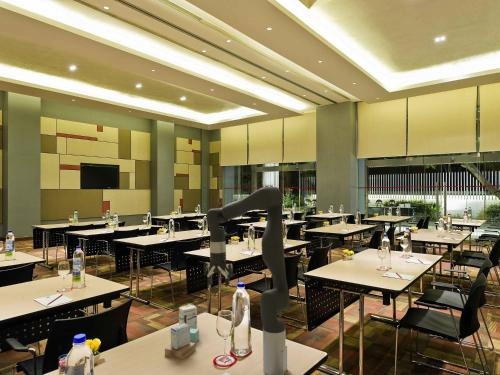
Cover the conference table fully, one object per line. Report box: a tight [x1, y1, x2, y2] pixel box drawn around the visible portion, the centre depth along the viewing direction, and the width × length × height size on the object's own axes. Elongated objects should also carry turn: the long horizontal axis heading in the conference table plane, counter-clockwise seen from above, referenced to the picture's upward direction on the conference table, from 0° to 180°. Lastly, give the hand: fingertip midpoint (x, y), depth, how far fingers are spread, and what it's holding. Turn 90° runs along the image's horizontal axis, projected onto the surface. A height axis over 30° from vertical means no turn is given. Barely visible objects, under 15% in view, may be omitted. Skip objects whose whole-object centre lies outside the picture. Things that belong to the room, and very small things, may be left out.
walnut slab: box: [164, 342, 197, 360], centre depth 165 cm, size 10×10×4 cm
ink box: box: [178, 304, 198, 329], centre depth 191 cm, size 8×5×12 cm, turn 123°
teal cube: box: [190, 328, 200, 343], centre depth 177 cm, size 5×5×5 cm
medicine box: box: [170, 323, 190, 349], centre depth 165 cm, size 8×4×9 cm, turn 137°
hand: (218, 285), depth 169 cm, fingers open, 8 cm apart
